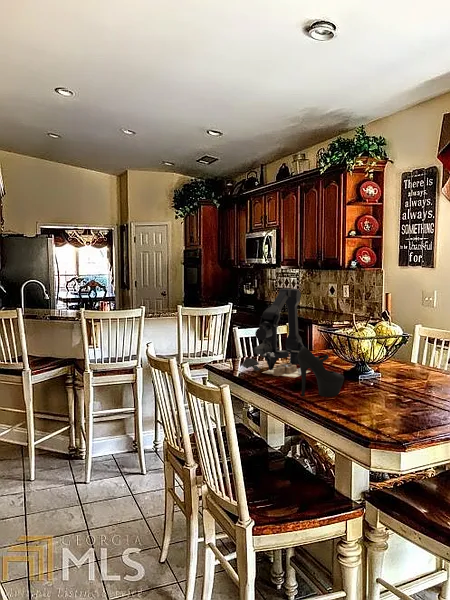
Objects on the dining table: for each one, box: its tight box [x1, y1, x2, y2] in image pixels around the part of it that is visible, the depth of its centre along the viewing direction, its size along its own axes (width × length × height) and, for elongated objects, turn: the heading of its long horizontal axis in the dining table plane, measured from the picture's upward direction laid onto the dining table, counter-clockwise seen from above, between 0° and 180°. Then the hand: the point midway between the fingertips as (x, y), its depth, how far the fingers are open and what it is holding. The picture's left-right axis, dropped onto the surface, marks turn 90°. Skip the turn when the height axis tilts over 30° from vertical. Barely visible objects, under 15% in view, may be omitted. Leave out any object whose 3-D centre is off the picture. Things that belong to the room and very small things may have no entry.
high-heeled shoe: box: [297, 346, 345, 398], centre depth 203 cm, size 8×19×20 cm, turn 94°
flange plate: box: [273, 363, 298, 377], centre depth 237 cm, size 14×7×3 cm, turn 144°
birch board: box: [261, 367, 312, 379], centre depth 240 cm, size 16×18×1 cm
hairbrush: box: [242, 356, 261, 372], centre depth 253 cm, size 8×4×25 cm
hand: (270, 370), depth 238 cm, fingers closed
